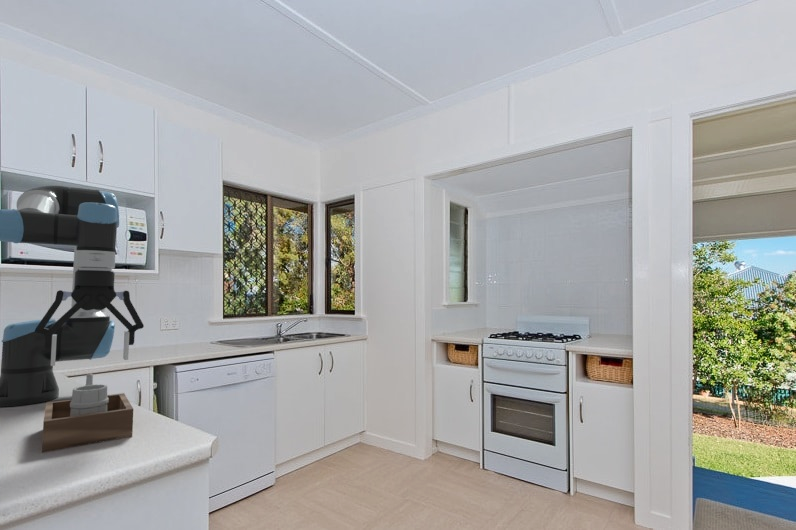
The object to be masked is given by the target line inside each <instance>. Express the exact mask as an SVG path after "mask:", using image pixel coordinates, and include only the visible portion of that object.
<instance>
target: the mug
mask: <svg viewBox="0 0 796 530" xmlns="http://www.w3.org/2000/svg"><path fill="white" fill-rule="evenodd" d="M93 379H94V374H93V373H87V374H86V381H85V385H83V386H82V385H81V386H77V387H74V388H73V389H72V393H71V400H72V401H71V402H70V408H71V412H70V417H71V416H78V415H85V414H92V413H99V412H106V411H107V403H108V402H109V398H108V397H107V395H108V385H107V384H93V382H94V380H93Z"/></svg>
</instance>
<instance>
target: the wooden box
mask: <svg viewBox="0 0 796 530" xmlns="http://www.w3.org/2000/svg"><path fill="white" fill-rule="evenodd" d="M107 397H108V398H109V402H108V403H107V411H106V412H99V413H92V414H85V415H78V416H71V417H70V412H71V408H70V402H71V401H72V399H64V400H59V401H58V400H57V401H47V402H46V403H45V408H44V409H45V410H44V416H43V426H42V441H41V442H42V444H41V453H47V452H53V451H58V449H59V450H63V449H69V448H75V447H80V446H87V445H92V444H98V443H102V442H103V441H104V442H108V441H109V442H110V441H115V440H121V439H125V438H132V437H133V428H134V427H133V425H134V408H133V406H132V404H131V403H130V401H129V399H128V398H127V395H126V394H125V392H121V393H114V394H107Z"/></svg>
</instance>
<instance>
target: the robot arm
mask: <svg viewBox="0 0 796 530" xmlns="http://www.w3.org/2000/svg"><path fill="white" fill-rule="evenodd" d="M119 209H120V208H119V204H118V198H117V197H116V195H115V194H114V193H113V192H108V191H103V190H99V189H90V188H83V187H82V188H80V187H72V186H63V185H45V186H38V187H34V188H31V189H28V190H26V191H24V192H22V194H20V196H19V197H18V198H17V201H16V208H12V209H7V208H5V209H4V208H3V209H0V242H4V243H13V244H32V245H33V244H35V245H36V244H37V245H54V246H55V245H56V246H69V247H73V248H74V249H73V252H74V253H73V269H72V270H73V271H72V272H73V273H72V287H71V289H72V290H71V291H65V290H64V291H63V290H57V291H56V294H55V300H54V301H53V303H52V304H51V305H50V307H49V308H48V310H47V312H46V313H45V314H44V315H43V317H42V319H35V320H26V321H20V322H15V323H11V324H8V325H7V326H6V327H5V328H4V329H3V332H2V333H3V336H2V340H1V343H2V349H1V350H2V351H1V363H0V407H17V406H26V405H34V404H38V403H39V404H40V403H43V402H49V401H51V400H54V399H55V400H56V399H57V398H58V397H59V394H60V387H59V385H58V383H57V382H58V381H57V380H56V377H55V373H54V368H53V367H55V366H56V362H69V361H71V362H72V361H81V360H82V361H83V360H91V361H92V360H93V359H102V358H106V357H107V356H108V355H109V353H110V352H111V349H112V345H113V340H114V335H115V334H114V333H115V327H116V323H115V321H113V320H110V319H111V317H110V315H109V313H108V312H106V310H105V309H107V310H108V311H110V313H111V314H112V315H113V316H114V317H115V318H116V319H117V320H118V321H119V322H120V323H121V324H122V325H123V326H124V327H125V328H126V331H124V332H123V333H124V336H123V354H122V356H123V357H122V359H123V360H124V361H126V360H127V361H128V360H129V350H130V349H129V348H130V346H133V345H135V344H134V343H135V332H136V331H138V330H141V329H143V328H144V327H145V326H144V323H143V321H142V320H141V318H140V316H139V314H138V312H137V311H136V308H135V307H134V305H133V302H132V301H131V297H130V292H129V290H123V291H115V274H116V273H115V272H114V271H113V269H115V268H116V243H117V232H118V231H117V230H118V229H117V228H119V227H120V210H119ZM70 297H71V304H70V305H71V307H70V308H69V310H67V311H66V312H64V314H63V315H62V316H61V317H60V318H58V319H57V320H56V319H55V318H52V317H53V315H54V314H55V313H56V311H57V310H58V308H59V307H60V306H61V304H62V302H63V301H66V300H68V298H70ZM116 297H118V299H119V300H120V301H123V303H124V305H125V307H126V309H127V311H128V313H129V315H130V316H131V318H132V320H133V322H134V323H135V324H132V323H130V321H129V320H128V319H127V318H126V317H125V316H124V315H123V314H122V313H121V312H120V311H119V310H118V309H117V308H116V307H115V306H114V305H113V304H112V301H113V300H114V299H116Z"/></svg>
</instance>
